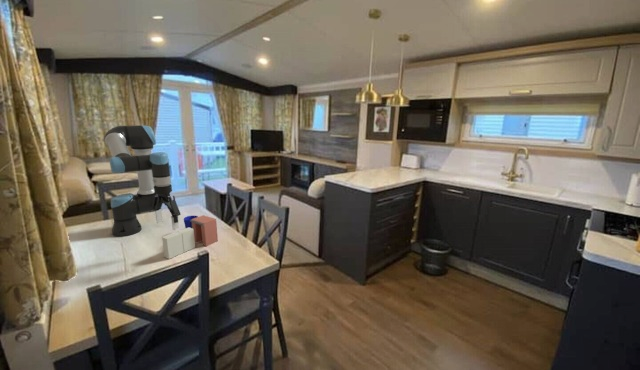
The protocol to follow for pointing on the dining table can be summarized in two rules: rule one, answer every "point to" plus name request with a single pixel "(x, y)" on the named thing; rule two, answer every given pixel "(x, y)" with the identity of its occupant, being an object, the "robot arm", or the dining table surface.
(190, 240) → the white double cube block
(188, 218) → the mug
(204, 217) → the dispenser
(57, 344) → the dining table surface
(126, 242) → the dining table surface
